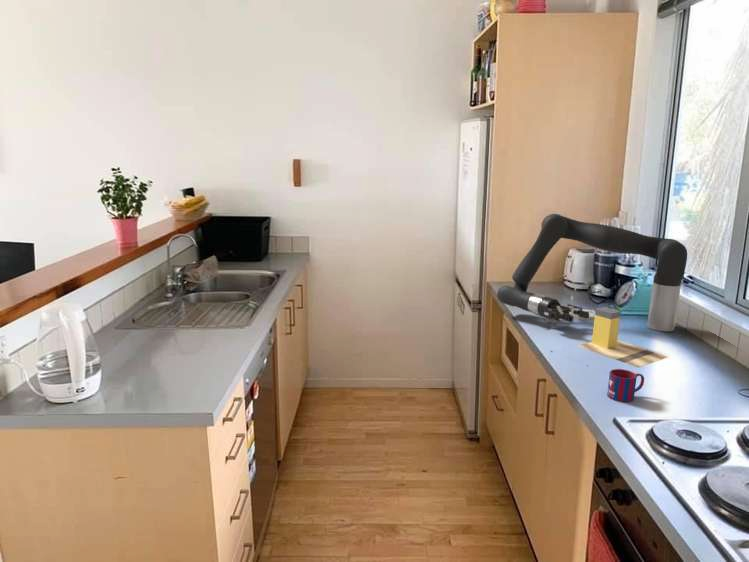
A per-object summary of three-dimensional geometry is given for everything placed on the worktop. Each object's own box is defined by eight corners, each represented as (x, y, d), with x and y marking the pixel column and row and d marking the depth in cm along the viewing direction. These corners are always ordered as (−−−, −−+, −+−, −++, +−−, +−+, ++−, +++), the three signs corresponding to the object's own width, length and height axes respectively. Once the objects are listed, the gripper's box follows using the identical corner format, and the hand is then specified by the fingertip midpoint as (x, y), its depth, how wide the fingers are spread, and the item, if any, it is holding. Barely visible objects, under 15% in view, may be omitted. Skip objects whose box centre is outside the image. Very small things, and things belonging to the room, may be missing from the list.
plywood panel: (607, 340, 205) (607, 337, 205) (668, 360, 188) (668, 356, 187) (576, 349, 196) (576, 345, 195) (637, 370, 178) (638, 367, 178)
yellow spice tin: (600, 340, 201) (604, 306, 198) (616, 345, 196) (620, 311, 193) (591, 343, 198) (595, 309, 195) (607, 348, 193) (611, 313, 191)
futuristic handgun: (601, 321, 220) (594, 309, 234) (546, 317, 223) (543, 306, 238) (600, 328, 221) (593, 315, 235) (546, 324, 224) (542, 312, 238)
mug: (602, 392, 162) (605, 369, 161) (636, 391, 164) (639, 368, 162) (615, 402, 156) (618, 379, 154) (650, 401, 157) (653, 377, 156)
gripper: (531, 299, 212) (568, 310, 199) (557, 293, 220) (594, 304, 207) (529, 318, 214) (566, 331, 201) (555, 313, 221) (592, 324, 208)
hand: (580, 317), depth 204 cm, fingers open, 8 cm apart
